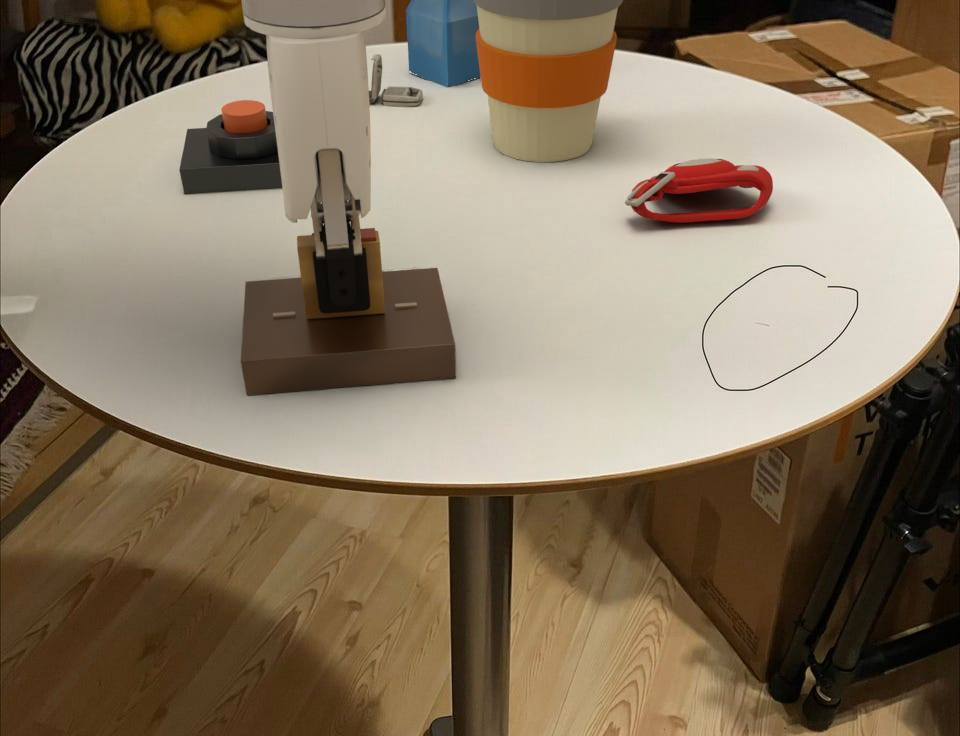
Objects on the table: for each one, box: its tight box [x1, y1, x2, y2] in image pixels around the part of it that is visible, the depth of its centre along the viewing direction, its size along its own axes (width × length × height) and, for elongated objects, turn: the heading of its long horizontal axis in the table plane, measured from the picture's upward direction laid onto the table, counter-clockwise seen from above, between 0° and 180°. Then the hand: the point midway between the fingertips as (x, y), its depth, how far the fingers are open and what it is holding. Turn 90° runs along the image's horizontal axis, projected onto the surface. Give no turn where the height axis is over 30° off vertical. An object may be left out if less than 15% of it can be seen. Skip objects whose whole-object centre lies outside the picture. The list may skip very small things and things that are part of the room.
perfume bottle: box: [405, 0, 481, 88], centre depth 105 cm, size 6×6×12 cm
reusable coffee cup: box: [473, 0, 624, 163], centre depth 90 cm, size 13×12×15 cm
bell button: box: [220, 99, 268, 133], centre depth 88 cm, size 4×4×2 cm
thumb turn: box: [296, 227, 385, 319], centre depth 65 cm, size 5×2×5 cm, turn 98°
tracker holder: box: [624, 158, 774, 223], centre depth 83 cm, size 12×4×10 cm
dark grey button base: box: [179, 110, 282, 195], centre depth 89 cm, size 11×9×4 cm
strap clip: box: [369, 54, 423, 108], centre depth 102 cm, size 8×3×4 cm, turn 84°
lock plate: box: [240, 267, 457, 396], centre depth 68 cm, size 13×10×3 cm
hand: (344, 298), depth 66 cm, fingers closed on thumb turn
